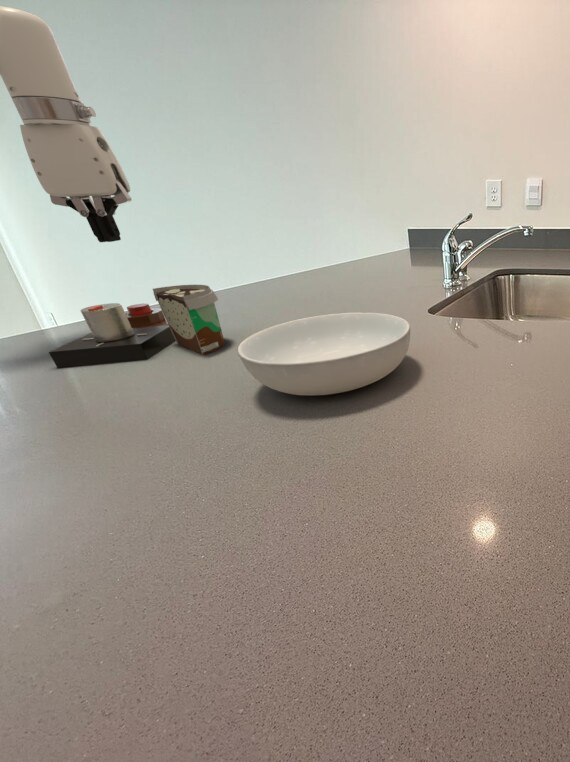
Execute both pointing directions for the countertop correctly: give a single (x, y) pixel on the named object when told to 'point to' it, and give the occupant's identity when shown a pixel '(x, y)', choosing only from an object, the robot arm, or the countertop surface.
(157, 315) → the igniter
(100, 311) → the stove knob
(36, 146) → the robot arm
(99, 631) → the countertop surface
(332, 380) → the serving bowl
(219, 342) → the food container
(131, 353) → the stove panel
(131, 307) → the button
